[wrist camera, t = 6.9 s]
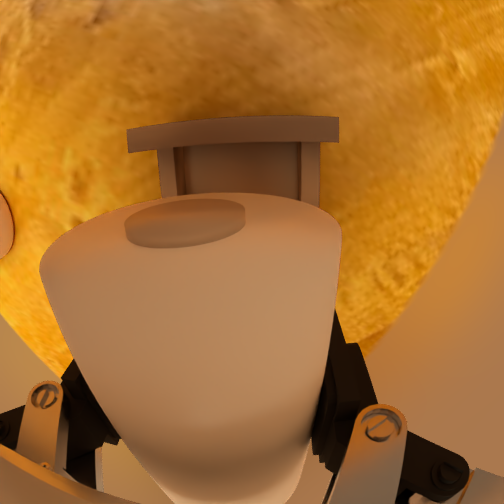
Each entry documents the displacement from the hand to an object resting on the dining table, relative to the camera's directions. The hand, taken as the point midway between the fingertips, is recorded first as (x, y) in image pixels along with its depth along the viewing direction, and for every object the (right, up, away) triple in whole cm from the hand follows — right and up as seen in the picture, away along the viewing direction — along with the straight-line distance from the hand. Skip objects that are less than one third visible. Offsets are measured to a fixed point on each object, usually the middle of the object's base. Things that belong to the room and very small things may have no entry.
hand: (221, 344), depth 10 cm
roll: (0, 0, +1) cm, 1 cm away
